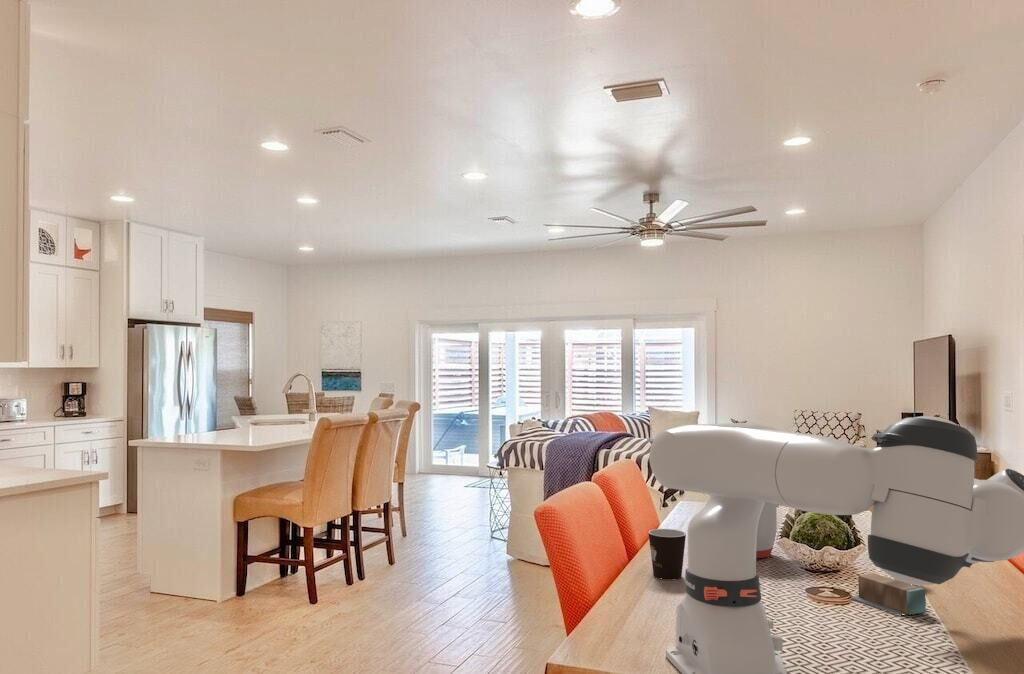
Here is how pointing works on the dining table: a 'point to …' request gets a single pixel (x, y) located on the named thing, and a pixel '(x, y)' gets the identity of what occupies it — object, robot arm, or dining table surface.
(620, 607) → the dining table surface
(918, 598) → the walnut block
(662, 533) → the coffee mug
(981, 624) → the dining table surface
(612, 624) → the dining table surface
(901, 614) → the slate mat
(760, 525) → the citrus juicer
